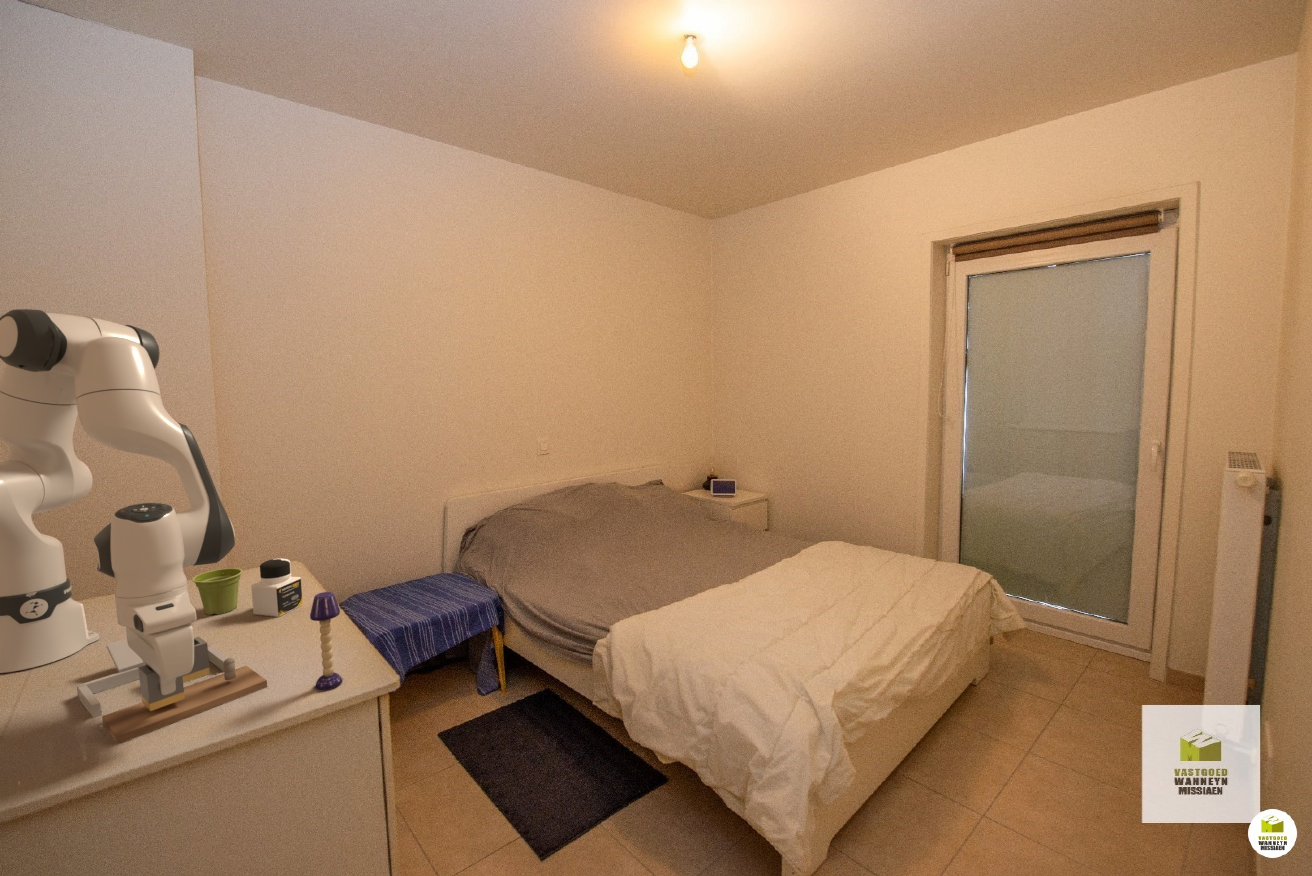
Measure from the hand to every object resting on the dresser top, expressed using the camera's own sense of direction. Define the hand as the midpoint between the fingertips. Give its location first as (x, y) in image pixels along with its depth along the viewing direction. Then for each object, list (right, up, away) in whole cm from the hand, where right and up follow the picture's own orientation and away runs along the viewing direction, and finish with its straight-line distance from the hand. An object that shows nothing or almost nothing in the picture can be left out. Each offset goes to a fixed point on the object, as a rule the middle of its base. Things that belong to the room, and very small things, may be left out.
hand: (161, 686), depth 95 cm
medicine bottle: (-8, 0, +43) cm, 43 cm away
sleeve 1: (0, -2, 0) cm, 2 cm away
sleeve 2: (-5, -3, +13) cm, 14 cm away
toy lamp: (+22, -4, +10) cm, 24 cm away
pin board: (+2, -4, +3) cm, 6 cm away
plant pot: (-22, 0, +42) cm, 48 cm away
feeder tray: (-12, -3, +12) cm, 18 cm away
